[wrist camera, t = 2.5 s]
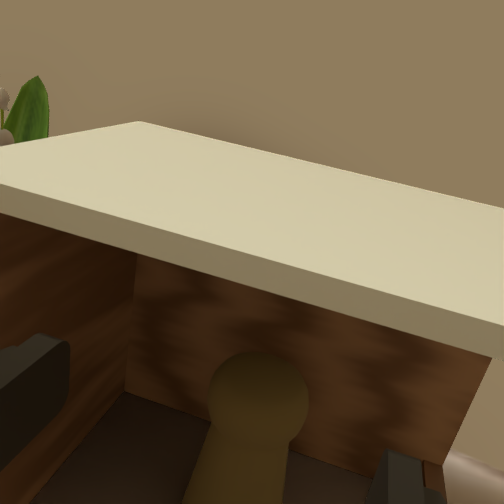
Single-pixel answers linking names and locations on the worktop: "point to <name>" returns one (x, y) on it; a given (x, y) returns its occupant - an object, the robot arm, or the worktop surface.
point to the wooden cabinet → (246, 289)
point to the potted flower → (25, 114)
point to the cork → (249, 431)
